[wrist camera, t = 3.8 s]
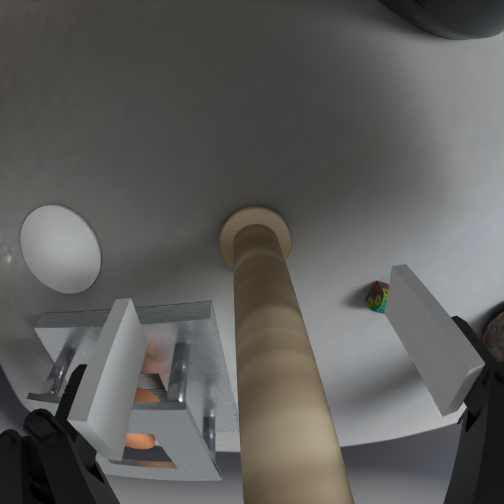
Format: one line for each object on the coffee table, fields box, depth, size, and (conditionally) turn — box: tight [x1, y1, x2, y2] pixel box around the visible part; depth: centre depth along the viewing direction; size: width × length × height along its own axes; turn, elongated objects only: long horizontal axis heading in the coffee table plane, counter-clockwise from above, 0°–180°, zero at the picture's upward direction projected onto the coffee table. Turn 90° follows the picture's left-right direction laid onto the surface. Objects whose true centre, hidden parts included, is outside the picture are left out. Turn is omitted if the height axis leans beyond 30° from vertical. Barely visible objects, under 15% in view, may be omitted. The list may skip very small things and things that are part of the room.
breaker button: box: [125, 387, 160, 449], centre depth 21 cm, size 4×4×4 cm
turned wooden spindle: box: [220, 206, 354, 504], centre depth 13 cm, size 4×4×17 cm
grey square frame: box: [27, 301, 239, 481], centre depth 22 cm, size 15×15×8 cm
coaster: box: [20, 204, 101, 294], centre depth 19 cm, size 7×7×1 cm
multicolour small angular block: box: [365, 281, 389, 314], centre depth 23 cm, size 4×3×2 cm, turn 70°
